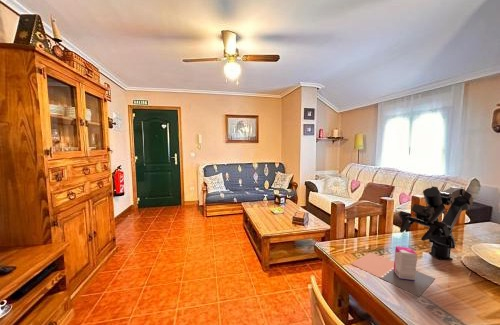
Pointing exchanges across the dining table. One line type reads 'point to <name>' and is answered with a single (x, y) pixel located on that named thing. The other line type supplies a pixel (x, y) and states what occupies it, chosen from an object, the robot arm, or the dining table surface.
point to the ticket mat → (392, 273)
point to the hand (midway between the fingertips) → (410, 235)
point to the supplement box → (405, 263)
